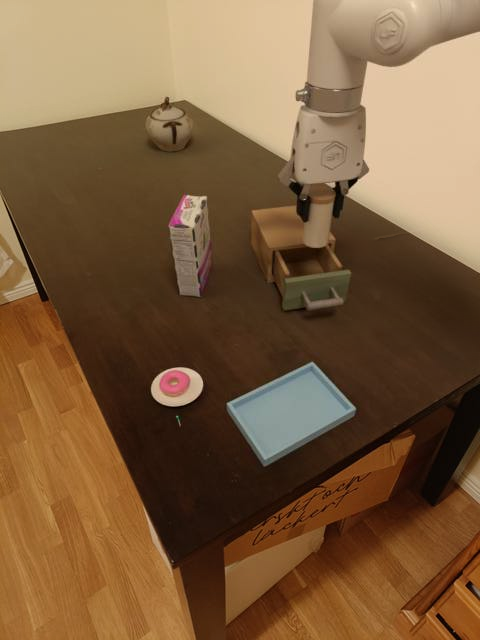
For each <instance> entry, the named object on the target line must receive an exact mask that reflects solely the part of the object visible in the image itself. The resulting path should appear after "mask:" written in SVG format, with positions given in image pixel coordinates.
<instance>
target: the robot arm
mask: <svg viewBox="0 0 480 640" xmlns="http://www.w3.org/2000/svg"><path fill="white" fill-rule="evenodd" d="M311 11H312V13H311V22H310V23H311V26H310V37H309V47H308V60H307V72H306V81H304V87H303V88H301V89H297V90H296V91H295V101H296V102H301V103H304V104H302V105H301V106H300V107H299V111H298V114H297V118H296V121H295V126H294V131H293V137H292V143H291V149H290V158H289V160H288V161H287V162H286V164H285V165H284V166H283V168H282V169H281V170H280V172H279V173H278V174H277V176H276V177H277V180H278V182H279V183H280V184H282V185H283V186H284V187H286V188H288V189H290V190H291V191H292V193H293V194H295V195H296V198H297V199H296V205H297V206H296V212H297V215H298V216H300V217H301V219H302V221H303V222H307V221H308V219H309V209H310V199H309V198H308V194H309V191H310V188H311V187H313V186H312V185H321V184H330V183H334V186H333V187H331V188H332V189H333V190H334V191H335V192H336V197H335V200H334V206H333V213H332V218H334V219H339V218H340V216H341V211H343V209H344V207H343V206H344V201H345V196H347V195H348V194H349V190H350V189H352V187H353V186H354V185H356V184H357V182H358V181H359V180H361V179H362V178H363V177H364V176H366V175H367V174H368V173H369V172H370V167H369V166H368V164H367V162H366V161H365V159H364V158H365V150H366V149H365V148H366V134H367V110H366V109H367V108H366V107H365V105H363V104H361V103H362V98H363V92H364V87H365V86H364V85H365V79H366V73H367V69H368V63H372V64H374V65H377V66H381V67H386V68H387V67H388V68H396V67H401V66H404V65H407V64H409V63H411V62H413V60H415V59H417V58H418V57H419V56H420V55H422V54H423V53H425V52H426V51H427V50H429V49H430V48H432V47H434V46H438V45H440V44H443V43H446V42H449V41H452V40H453V41H454V40H456V39H460V38H464V37H466V36H470V35H472V34H476V33H479V32H480V0H313V2H312V10H311ZM293 174H294V177H295V179H296V180H295V179H294V178H292V176H293Z"/></svg>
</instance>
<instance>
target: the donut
mask: <svg viewBox="0 0 480 640" xmlns="http://www.w3.org/2000/svg"><path fill="white" fill-rule="evenodd" d="M203 389H204V381H203V378H202V376H201V375H200V374H199V373H198V372H197V371H196V370H194V369H191V368H188V367H171V368H168V369H166V370H164V371H162V372H160V373H159V374H157V376H156V377H155V378H154V380H153V381H152V382H151V387H150V393H151V396H152V397H153V399H154V400H155V401H156V402H158V403H159V404H161V405H163V406H167V407H180V406H185V405H187V404H190V403H192V402H194V401H195V400H196V399H197V398H198V397H199V396H200V395H201V394H202V391H203ZM175 418H176V419H177V420H178V424H179V427H181V423H180V419H179V415H176V416H175Z"/></svg>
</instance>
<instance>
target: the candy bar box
mask: <svg viewBox="0 0 480 640" xmlns="http://www.w3.org/2000/svg"><path fill="white" fill-rule="evenodd" d="M208 205H209V203H208V196H206V195H193V194H192V195H191V194H183V195H182V197H181V200H180V202H179V203H178V205H177V208H176V209H175V211H174V213H173V215H172V217H171V219H170V221H169V223H168V225H167V227H168V233H169V239H170V246H171V250H172V258H173V263H174V270H175V275H176V281H177V288H178V289H177V290H178V294H179V296H183V297H196V298H202V297H203V295H204V291H205V289H206V285H207V283H208V279H209V276H210V274H211V272H212V268H213V265H214V263H213V252H212V239H211V228H210V227H211V226H210V216H209V206H208Z"/></svg>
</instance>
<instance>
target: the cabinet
mask: <svg viewBox="0 0 480 640" xmlns="http://www.w3.org/2000/svg"><path fill="white" fill-rule="evenodd" d="M296 206H297V204H296V205H287V206H278V207H269V208H261V209H254V210H251V220H250V221H251V222H250V223H251V225H250V226H251V227H250V228H251V229H250V233H251V234H250V245H251V247H252V250H253V252H254V254H255V257H256V259H257V262H258V264H259V267H260V269H261V271H262V273H263V276H264V278H265V281H266V284H270V283H276V281H275V279H274V277H273V275H272V256H273V251H278V250H285V249H292V248H300V247H307V245H305V244H304V243H303V231H304V222H303V221H302V219H301V217H300V216H298V215H297V212H296ZM328 245H329V246H330V248H331V249H332V251H333V252H335V246H336V238H335V236H334V235H333V233H332V232H331V231H330V233H329V240H328Z"/></svg>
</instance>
